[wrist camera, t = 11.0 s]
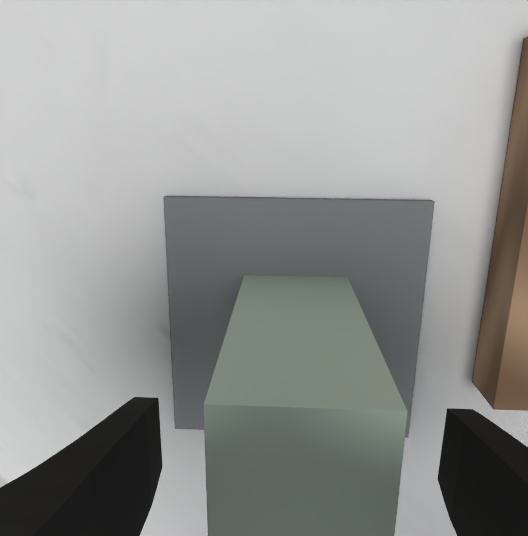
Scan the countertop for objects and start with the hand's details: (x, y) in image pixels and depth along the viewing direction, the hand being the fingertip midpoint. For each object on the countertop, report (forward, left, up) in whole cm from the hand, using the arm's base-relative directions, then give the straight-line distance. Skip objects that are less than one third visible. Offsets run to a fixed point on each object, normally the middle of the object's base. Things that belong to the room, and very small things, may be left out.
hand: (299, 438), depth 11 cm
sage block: (0, 0, -7) cm, 7 cm away
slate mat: (0, 0, -8) cm, 8 cm away
